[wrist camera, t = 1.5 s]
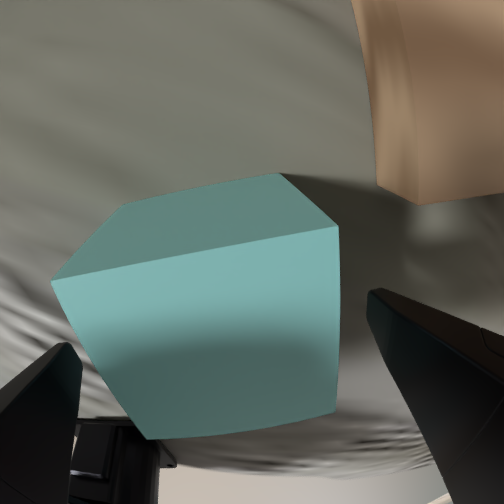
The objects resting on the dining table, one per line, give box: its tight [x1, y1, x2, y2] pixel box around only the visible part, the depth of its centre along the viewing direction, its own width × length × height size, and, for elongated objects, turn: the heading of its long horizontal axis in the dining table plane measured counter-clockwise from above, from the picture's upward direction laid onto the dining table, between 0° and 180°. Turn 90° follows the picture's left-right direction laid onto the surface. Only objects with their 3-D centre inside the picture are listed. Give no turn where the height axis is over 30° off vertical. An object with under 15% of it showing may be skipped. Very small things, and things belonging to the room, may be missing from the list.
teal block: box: [50, 173, 340, 439], centre depth 9 cm, size 6×6×6 cm
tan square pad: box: [351, 0, 504, 206], centre depth 8 cm, size 10×10×3 cm
